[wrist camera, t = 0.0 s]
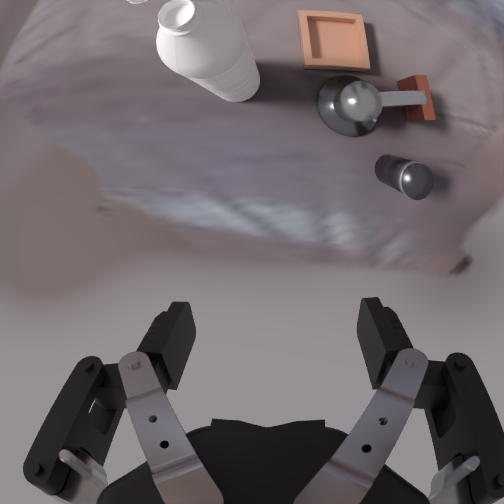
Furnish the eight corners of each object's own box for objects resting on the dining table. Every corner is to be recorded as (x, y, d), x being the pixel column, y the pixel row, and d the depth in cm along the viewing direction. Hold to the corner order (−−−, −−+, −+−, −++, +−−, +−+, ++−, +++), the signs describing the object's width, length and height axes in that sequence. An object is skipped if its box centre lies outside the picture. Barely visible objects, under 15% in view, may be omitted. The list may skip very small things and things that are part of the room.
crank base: (314, 75, 31) (315, 73, 31) (375, 79, 30) (377, 78, 30) (319, 135, 35) (320, 135, 34) (378, 137, 34) (381, 137, 33)
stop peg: (374, 153, 35) (403, 161, 26) (401, 155, 35) (434, 164, 26) (374, 183, 37) (401, 199, 28) (400, 184, 37) (432, 200, 28)
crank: (338, 127, 33) (349, 127, 28) (328, 86, 31) (337, 79, 26) (415, 119, 31) (435, 119, 26) (406, 81, 29) (425, 75, 23)
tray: (297, 16, 28) (298, 10, 25) (357, 20, 27) (361, 14, 24) (303, 68, 31) (305, 64, 29) (365, 72, 30) (370, 68, 28)
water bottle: (270, 83, 33) (257, 7, 10) (234, 111, 35) (165, 81, 12) (229, 43, 30) (167, -51, 8) (195, 71, 32) (92, 13, 10)
